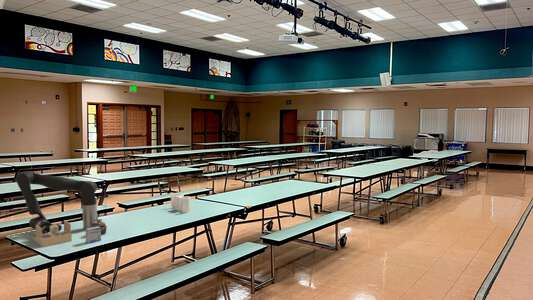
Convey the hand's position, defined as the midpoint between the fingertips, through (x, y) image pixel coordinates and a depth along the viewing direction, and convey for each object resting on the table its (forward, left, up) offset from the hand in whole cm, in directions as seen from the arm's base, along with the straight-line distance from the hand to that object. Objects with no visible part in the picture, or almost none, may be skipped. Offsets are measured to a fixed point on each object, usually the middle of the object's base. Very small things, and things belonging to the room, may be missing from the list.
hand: (51, 231), depth 251 cm
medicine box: (-18, +21, -6) cm, 28 cm away
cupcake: (-27, +7, -6) cm, 29 cm away
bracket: (-106, -17, -6) cm, 107 cm away
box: (0, +5, -6) cm, 8 cm away
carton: (0, -2, -6) cm, 7 cm away
